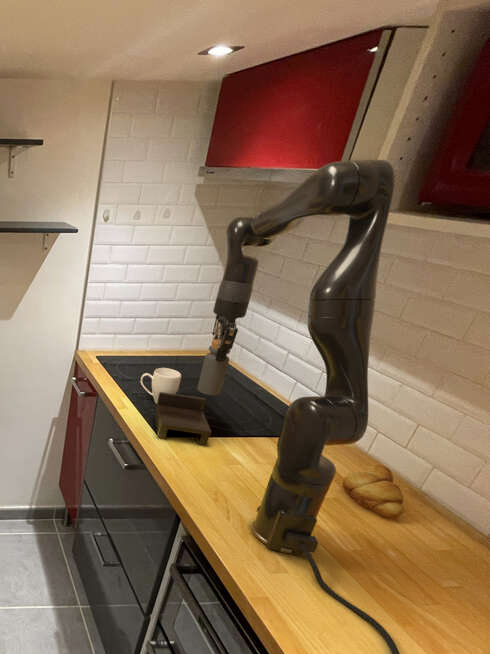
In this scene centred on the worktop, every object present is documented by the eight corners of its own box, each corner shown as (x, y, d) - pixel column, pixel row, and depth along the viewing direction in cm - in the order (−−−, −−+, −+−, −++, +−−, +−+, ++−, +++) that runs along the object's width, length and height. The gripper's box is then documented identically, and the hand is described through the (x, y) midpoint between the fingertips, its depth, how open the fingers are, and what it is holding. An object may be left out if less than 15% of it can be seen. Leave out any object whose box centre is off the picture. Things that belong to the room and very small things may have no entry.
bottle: (222, 396, 124) (237, 346, 118) (200, 394, 125) (213, 344, 119) (216, 388, 129) (229, 339, 123) (194, 385, 130) (206, 337, 124)
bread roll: (411, 525, 99) (427, 496, 96) (361, 518, 101) (375, 489, 98) (375, 489, 111) (388, 462, 108) (331, 483, 113) (342, 456, 110)
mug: (173, 400, 155) (180, 370, 150) (175, 410, 148) (182, 379, 143) (137, 394, 159) (142, 364, 154) (136, 403, 152) (142, 373, 147)
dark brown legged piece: (207, 447, 127) (215, 419, 124) (158, 439, 131) (164, 412, 127) (198, 424, 139) (205, 398, 136) (153, 417, 143) (159, 391, 139)
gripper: (212, 290, 124) (198, 346, 130) (223, 302, 111) (207, 364, 118) (242, 292, 122) (226, 350, 128) (257, 305, 109) (239, 368, 116)
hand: (217, 356), depth 123 cm, fingers closed on bottle, 5 cm apart
